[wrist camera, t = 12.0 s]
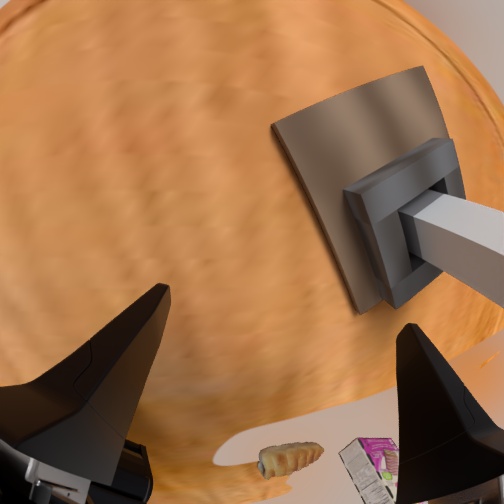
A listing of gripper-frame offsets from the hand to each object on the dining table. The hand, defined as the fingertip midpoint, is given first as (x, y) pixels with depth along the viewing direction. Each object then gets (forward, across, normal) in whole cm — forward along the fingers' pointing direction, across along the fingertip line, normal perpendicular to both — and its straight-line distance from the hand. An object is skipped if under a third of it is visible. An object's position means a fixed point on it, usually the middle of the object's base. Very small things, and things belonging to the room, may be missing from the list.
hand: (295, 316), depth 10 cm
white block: (+14, -12, +2) cm, 18 cm away
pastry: (+3, -8, +34) cm, 35 cm away
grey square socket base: (+16, -9, 0) cm, 18 cm away
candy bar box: (+5, -24, +38) cm, 45 cm away
